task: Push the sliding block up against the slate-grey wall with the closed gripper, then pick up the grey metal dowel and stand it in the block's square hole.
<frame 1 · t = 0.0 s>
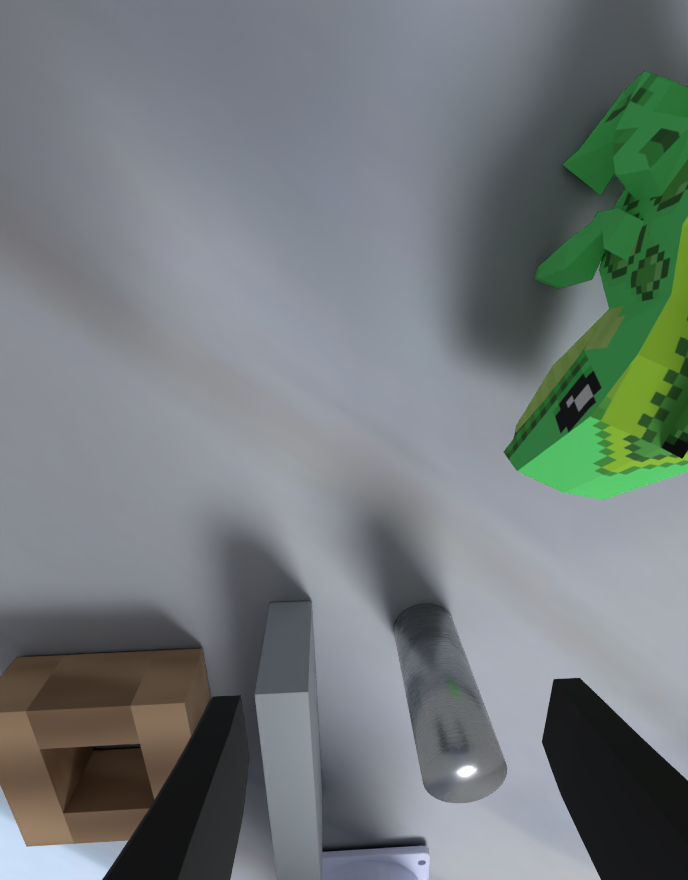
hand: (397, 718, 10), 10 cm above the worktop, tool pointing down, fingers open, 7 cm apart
dowel: (423, 628, 22), on the worktop
block: (114, 747, 22), point 2 cm above the worktop, slide at 0.0 cm
wall: (298, 708, 24), on the worktop
toy: (598, 259, 17), on the worktop
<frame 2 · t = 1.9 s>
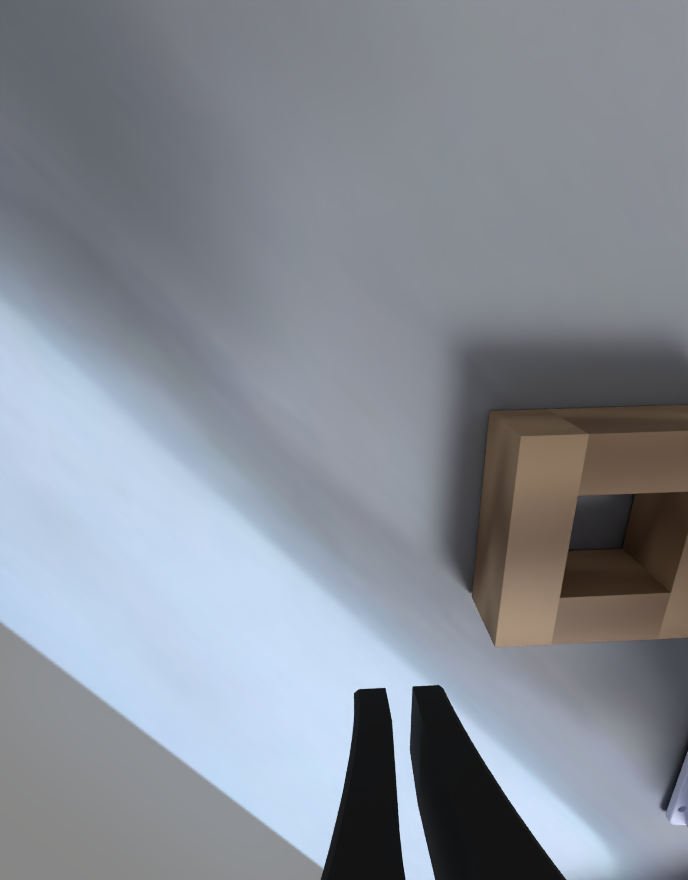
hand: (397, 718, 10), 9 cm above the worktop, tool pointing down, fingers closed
block: (603, 525, 18), point 2 cm above the worktop, slide at 0.0 cm
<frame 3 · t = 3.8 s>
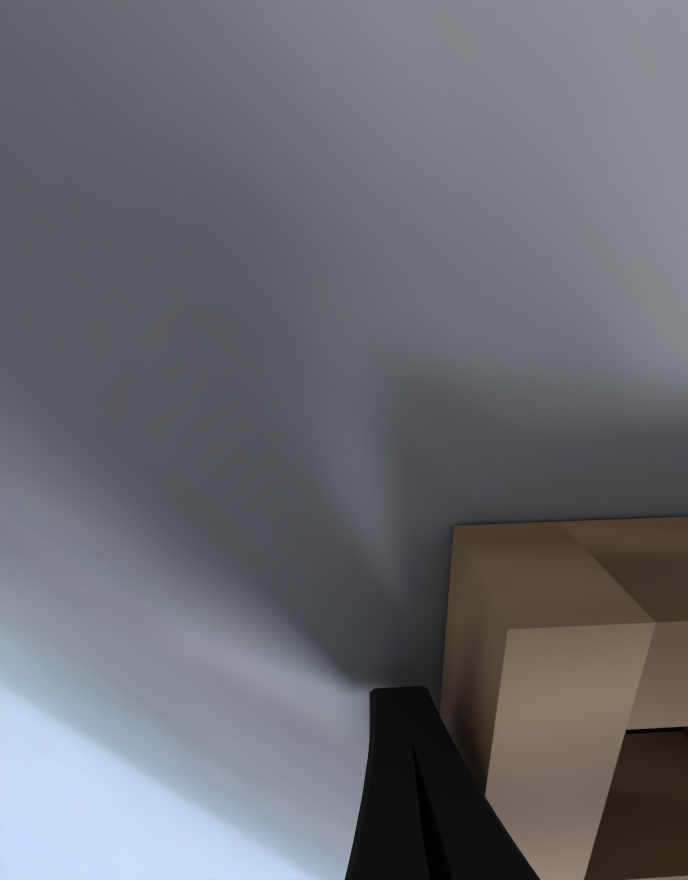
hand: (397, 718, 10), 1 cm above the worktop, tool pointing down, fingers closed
block: (660, 730, 10), point 2 cm above the worktop, slide at 0.2 cm, touching gripper
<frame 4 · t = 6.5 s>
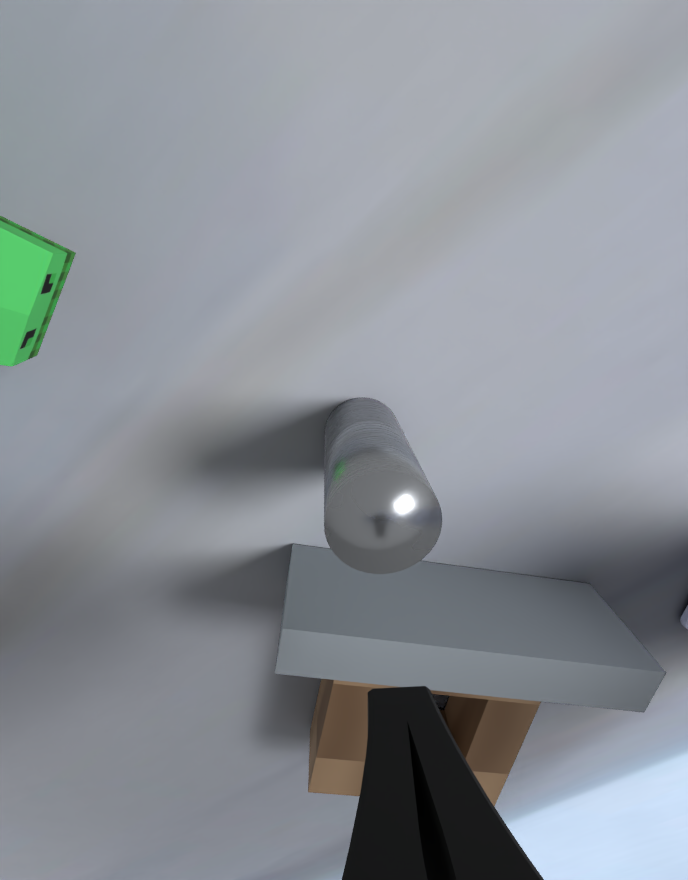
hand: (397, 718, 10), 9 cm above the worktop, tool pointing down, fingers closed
dowel: (361, 433, 18), on the worktop
block: (419, 700, 21), point 2 cm above the worktop, slide at 3.5 cm
wall: (440, 582, 20), on the worktop
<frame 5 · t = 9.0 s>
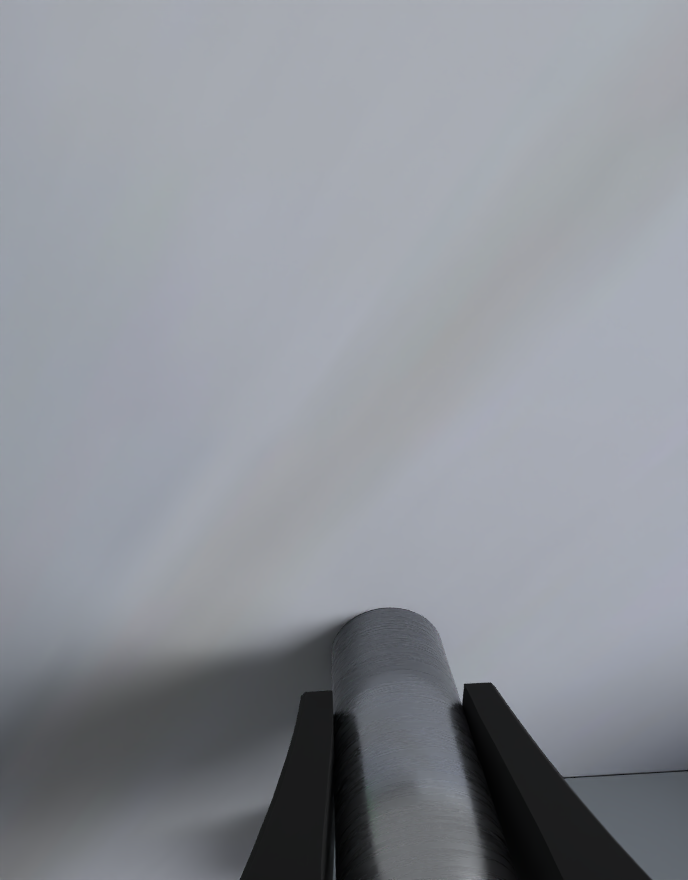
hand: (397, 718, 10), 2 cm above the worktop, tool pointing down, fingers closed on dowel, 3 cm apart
dowel: (386, 652, 12), on the worktop, touching gripper
wall: (537, 800, 14), on the worktop
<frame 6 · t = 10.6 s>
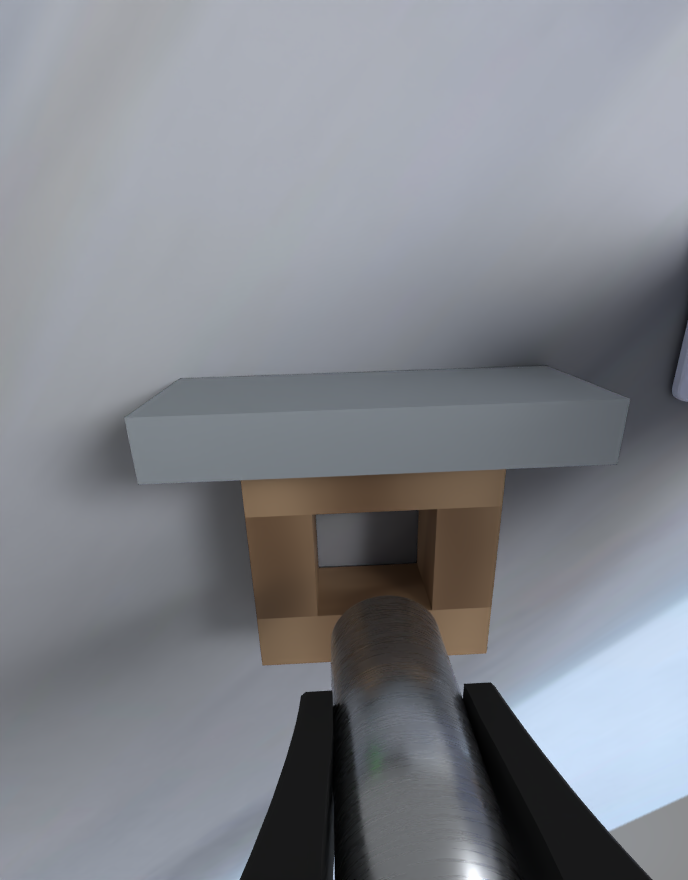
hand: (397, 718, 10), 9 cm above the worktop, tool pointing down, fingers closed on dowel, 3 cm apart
dowel: (385, 641, 12), point 7 cm above the worktop, touching gripper
block: (370, 542, 18), point 2 cm above the worktop, slide at 3.5 cm
wall: (365, 397, 17), on the worktop
when the fingers open (3 cm above the worktop, at t = 12.4 s): dowel drops 1 cm, resting in block.
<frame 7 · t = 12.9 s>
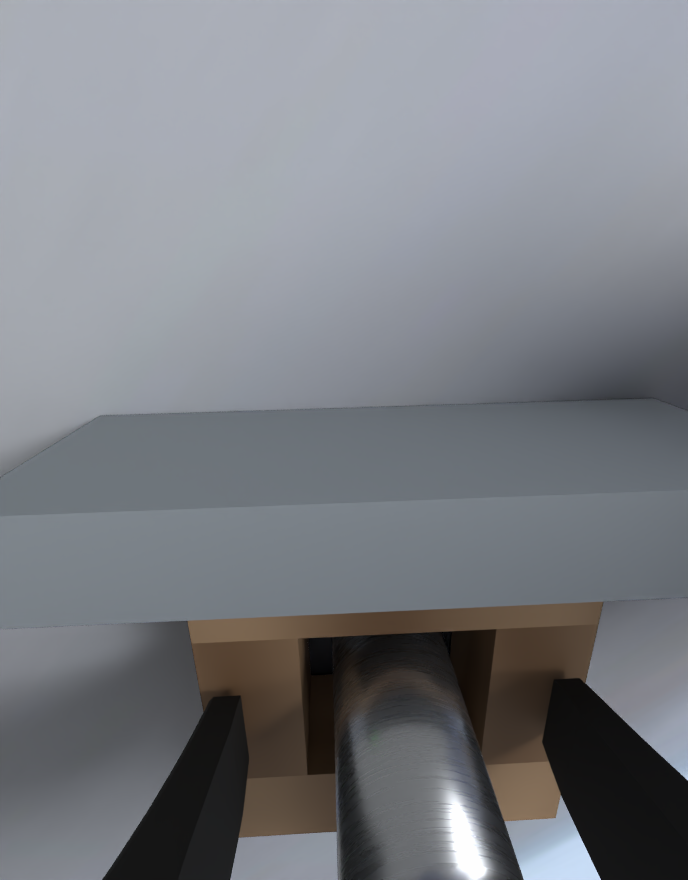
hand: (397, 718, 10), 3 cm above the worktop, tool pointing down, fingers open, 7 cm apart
dowel: (381, 609, 13), resting in block
block: (387, 656, 12), point 2 cm above the worktop, slide at 3.5 cm
wall: (382, 443, 12), on the worktop
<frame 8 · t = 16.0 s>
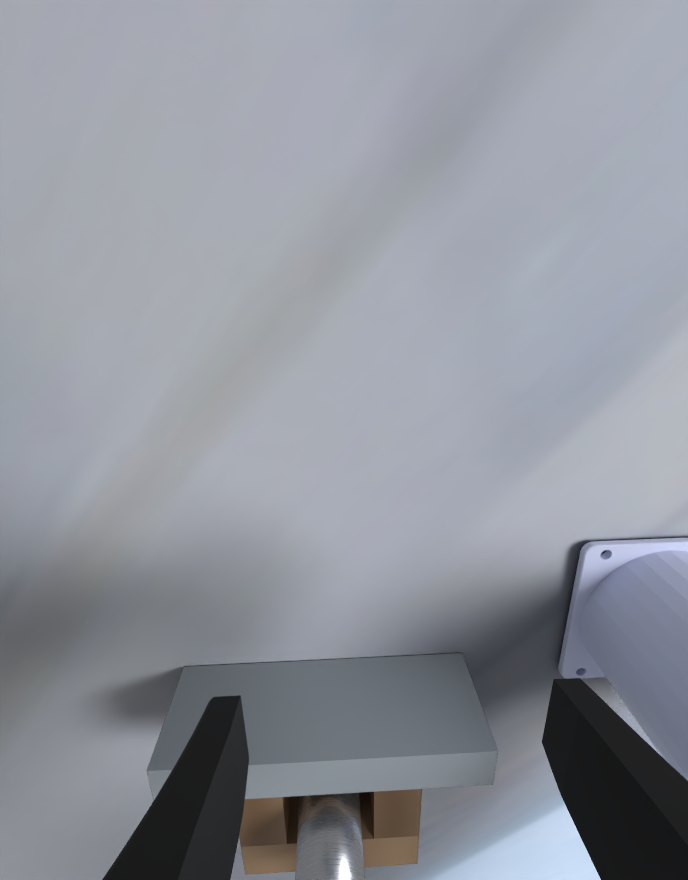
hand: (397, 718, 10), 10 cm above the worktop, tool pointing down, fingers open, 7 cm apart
dowel: (328, 747, 25), resting in block
block: (328, 780, 23), point 2 cm above the worktop, slide at 3.5 cm
wall: (325, 674, 23), on the worktop
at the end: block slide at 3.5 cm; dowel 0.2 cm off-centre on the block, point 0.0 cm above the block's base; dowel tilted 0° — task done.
